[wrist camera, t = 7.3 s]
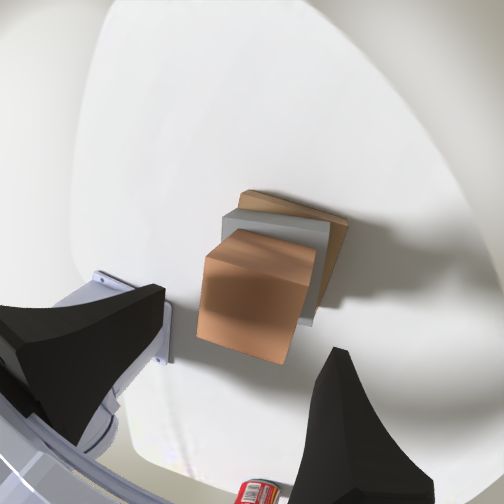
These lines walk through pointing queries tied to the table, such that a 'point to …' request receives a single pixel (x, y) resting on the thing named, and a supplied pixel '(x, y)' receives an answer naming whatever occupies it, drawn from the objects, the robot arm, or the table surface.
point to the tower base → (280, 206)
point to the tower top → (291, 231)
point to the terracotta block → (254, 294)
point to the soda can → (258, 493)
